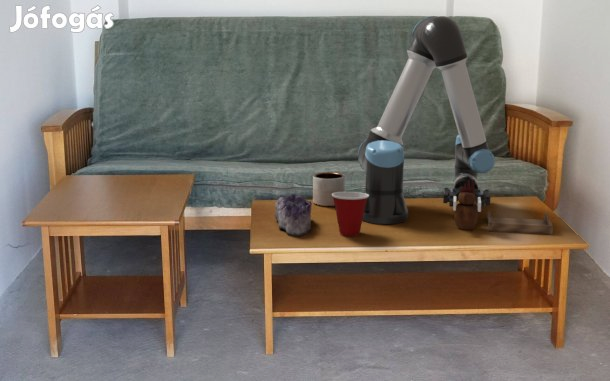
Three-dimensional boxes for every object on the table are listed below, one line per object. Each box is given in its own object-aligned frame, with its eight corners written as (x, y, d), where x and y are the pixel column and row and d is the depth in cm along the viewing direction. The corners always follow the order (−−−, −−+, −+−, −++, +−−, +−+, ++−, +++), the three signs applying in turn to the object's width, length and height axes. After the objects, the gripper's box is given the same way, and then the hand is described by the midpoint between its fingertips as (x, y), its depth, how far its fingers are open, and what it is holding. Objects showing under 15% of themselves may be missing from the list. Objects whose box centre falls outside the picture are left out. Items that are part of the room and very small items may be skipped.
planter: (332, 208, 229) (332, 180, 227) (306, 203, 235) (306, 176, 233) (351, 202, 237) (351, 174, 235) (325, 197, 244) (325, 170, 241)
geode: (322, 235, 201) (317, 203, 198) (282, 242, 200) (277, 210, 197) (310, 214, 220) (306, 184, 218) (274, 220, 219) (270, 190, 216)
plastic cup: (371, 229, 206) (371, 189, 203) (365, 240, 196) (365, 198, 193) (335, 226, 209) (335, 188, 206) (327, 237, 199) (327, 196, 196)
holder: (489, 231, 203) (489, 222, 203) (487, 218, 216) (487, 211, 215) (552, 234, 200) (552, 226, 199) (546, 221, 212) (547, 213, 212)
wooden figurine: (479, 227, 207) (482, 178, 203) (473, 232, 202) (475, 182, 199) (458, 224, 210) (460, 175, 207) (451, 229, 206) (453, 179, 202)
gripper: (496, 200, 220) (501, 220, 198) (434, 198, 224) (432, 217, 202) (497, 177, 219) (502, 195, 197) (435, 175, 222) (433, 192, 201)
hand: (467, 206), depth 200 cm, fingers closed on wooden figurine, 6 cm apart
